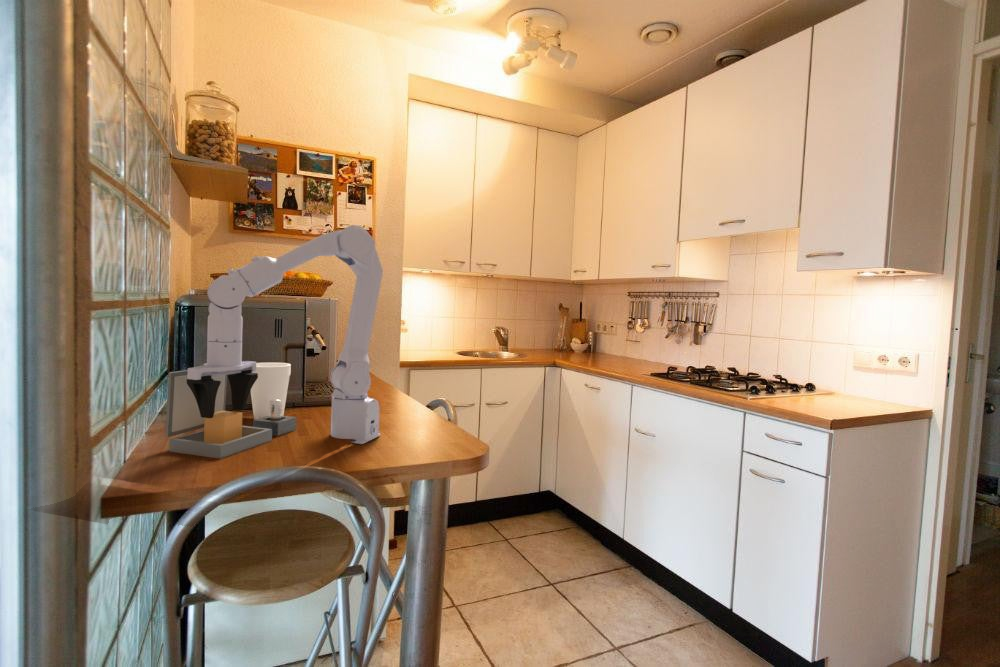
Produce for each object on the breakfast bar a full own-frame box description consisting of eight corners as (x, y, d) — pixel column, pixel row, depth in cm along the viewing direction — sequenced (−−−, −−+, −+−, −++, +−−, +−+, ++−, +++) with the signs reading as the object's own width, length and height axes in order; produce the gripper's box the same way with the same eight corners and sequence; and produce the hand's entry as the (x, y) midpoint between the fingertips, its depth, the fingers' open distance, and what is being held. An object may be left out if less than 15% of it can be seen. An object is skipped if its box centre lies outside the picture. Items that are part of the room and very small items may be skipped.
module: (241, 443, 96) (242, 412, 96) (223, 449, 92) (224, 417, 91) (222, 441, 97) (223, 410, 97) (204, 447, 93) (204, 415, 92)
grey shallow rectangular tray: (271, 444, 99) (272, 429, 99) (220, 462, 87) (221, 445, 87) (225, 438, 102) (225, 423, 102) (169, 455, 89) (169, 439, 89)
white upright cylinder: (283, 432, 107) (284, 399, 106) (274, 434, 105) (275, 401, 104) (275, 430, 108) (276, 398, 107) (266, 433, 106) (267, 400, 105)
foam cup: (240, 417, 120) (241, 363, 119) (278, 412, 127) (279, 361, 126) (258, 425, 114) (259, 368, 113) (297, 419, 121) (298, 365, 120)
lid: (228, 365, 101) (225, 365, 101) (172, 373, 89) (168, 372, 89) (225, 422, 102) (221, 421, 102) (168, 437, 89) (165, 436, 89)
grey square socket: (296, 433, 108) (296, 417, 108) (277, 439, 103) (278, 422, 102) (272, 430, 110) (272, 414, 110) (252, 436, 104) (252, 420, 104)
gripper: (236, 338, 101) (234, 404, 102) (173, 341, 87) (172, 419, 88) (266, 340, 100) (264, 408, 100) (207, 344, 86) (205, 423, 86)
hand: (223, 413), depth 94 cm, fingers open, 7 cm apart
